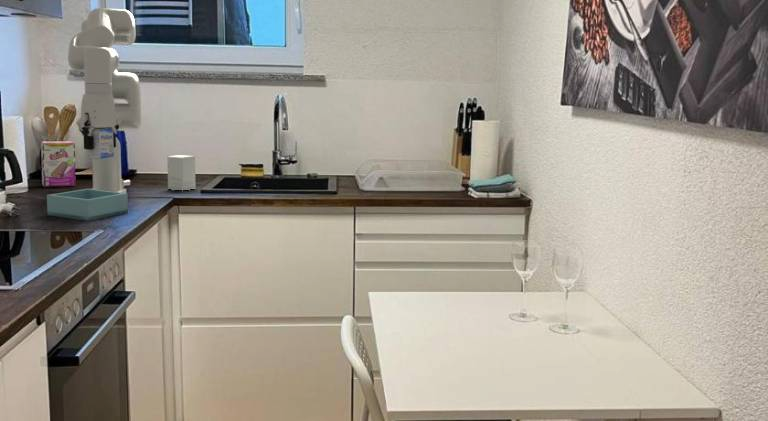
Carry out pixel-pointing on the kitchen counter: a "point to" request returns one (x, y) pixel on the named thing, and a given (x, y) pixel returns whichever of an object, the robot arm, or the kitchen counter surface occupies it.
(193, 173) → the supplement box
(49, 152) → the candy bar box
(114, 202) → the collection bin
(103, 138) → the medicine box
